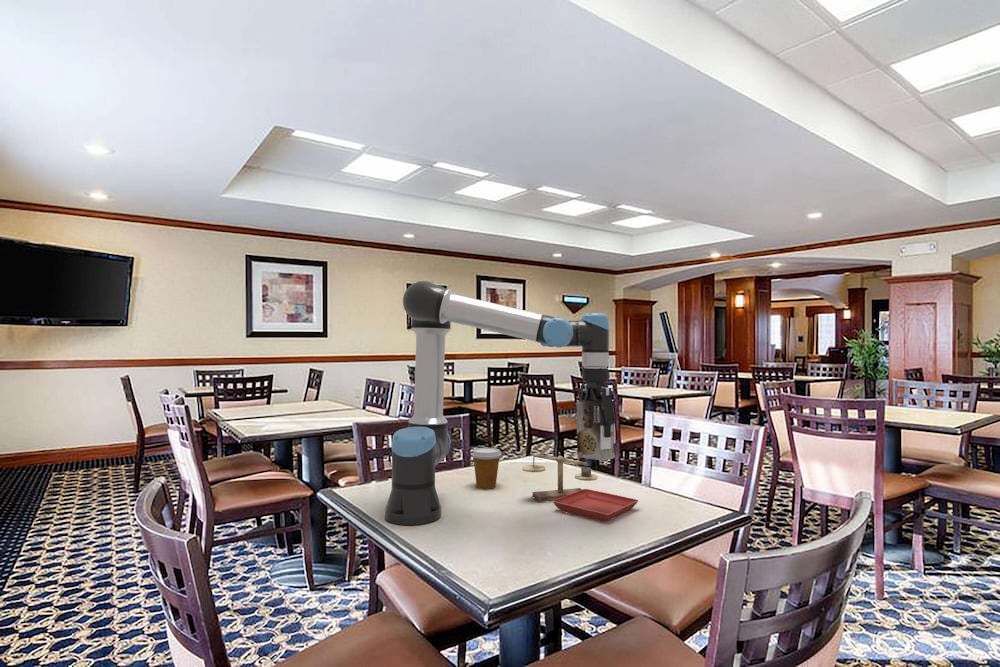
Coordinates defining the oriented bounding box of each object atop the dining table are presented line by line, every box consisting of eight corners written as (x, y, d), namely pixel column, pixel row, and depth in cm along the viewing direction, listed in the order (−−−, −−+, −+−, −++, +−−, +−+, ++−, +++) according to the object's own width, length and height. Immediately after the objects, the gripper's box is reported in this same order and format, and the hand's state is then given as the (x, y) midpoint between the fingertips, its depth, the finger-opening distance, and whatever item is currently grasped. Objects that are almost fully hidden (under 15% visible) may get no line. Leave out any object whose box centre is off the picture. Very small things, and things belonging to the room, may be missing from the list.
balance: (527, 504, 161) (527, 456, 161) (518, 497, 167) (518, 452, 168) (601, 496, 169) (601, 452, 169) (590, 491, 175) (590, 448, 175)
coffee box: (615, 458, 155) (615, 400, 155) (603, 461, 150) (602, 402, 150) (588, 453, 161) (588, 398, 161) (575, 456, 156) (575, 400, 156)
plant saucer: (639, 510, 156) (639, 499, 156) (608, 526, 142) (608, 513, 142) (584, 499, 168) (584, 488, 168) (550, 512, 154) (550, 500, 154)
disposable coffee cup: (498, 491, 175) (498, 453, 175) (468, 489, 176) (469, 452, 177) (502, 483, 184) (502, 448, 184) (474, 482, 186) (475, 447, 186)
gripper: (628, 369, 146) (629, 452, 146) (588, 365, 168) (588, 438, 167) (603, 369, 144) (604, 453, 143) (566, 366, 166) (566, 439, 165)
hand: (595, 445), depth 155 cm, fingers closed on coffee box, 11 cm apart
